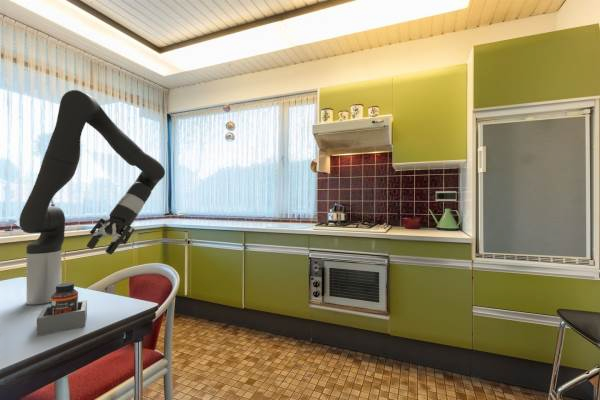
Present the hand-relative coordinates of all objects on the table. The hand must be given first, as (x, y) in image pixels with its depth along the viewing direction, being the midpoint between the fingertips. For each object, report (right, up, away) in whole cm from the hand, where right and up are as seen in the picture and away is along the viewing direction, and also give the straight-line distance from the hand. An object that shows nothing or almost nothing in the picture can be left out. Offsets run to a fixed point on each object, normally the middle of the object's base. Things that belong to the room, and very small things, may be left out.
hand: (98, 250), depth 94 cm
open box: (0, -19, -13) cm, 23 cm away
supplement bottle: (0, -19, -13) cm, 23 cm away
